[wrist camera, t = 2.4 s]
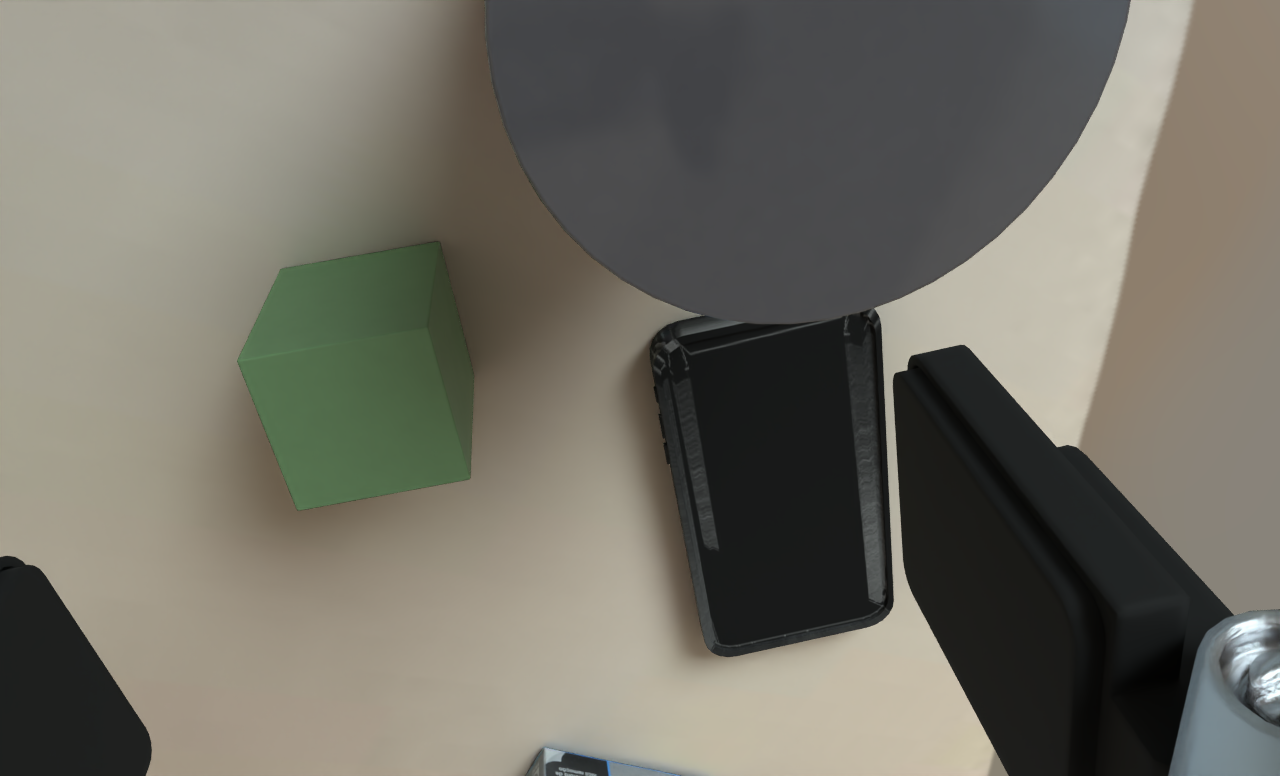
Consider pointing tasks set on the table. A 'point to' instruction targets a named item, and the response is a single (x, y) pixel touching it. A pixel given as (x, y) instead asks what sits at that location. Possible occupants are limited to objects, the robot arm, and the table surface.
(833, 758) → the table surface
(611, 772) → the label tape box
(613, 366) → the table surface
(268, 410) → the green block
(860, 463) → the phone
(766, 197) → the jar
